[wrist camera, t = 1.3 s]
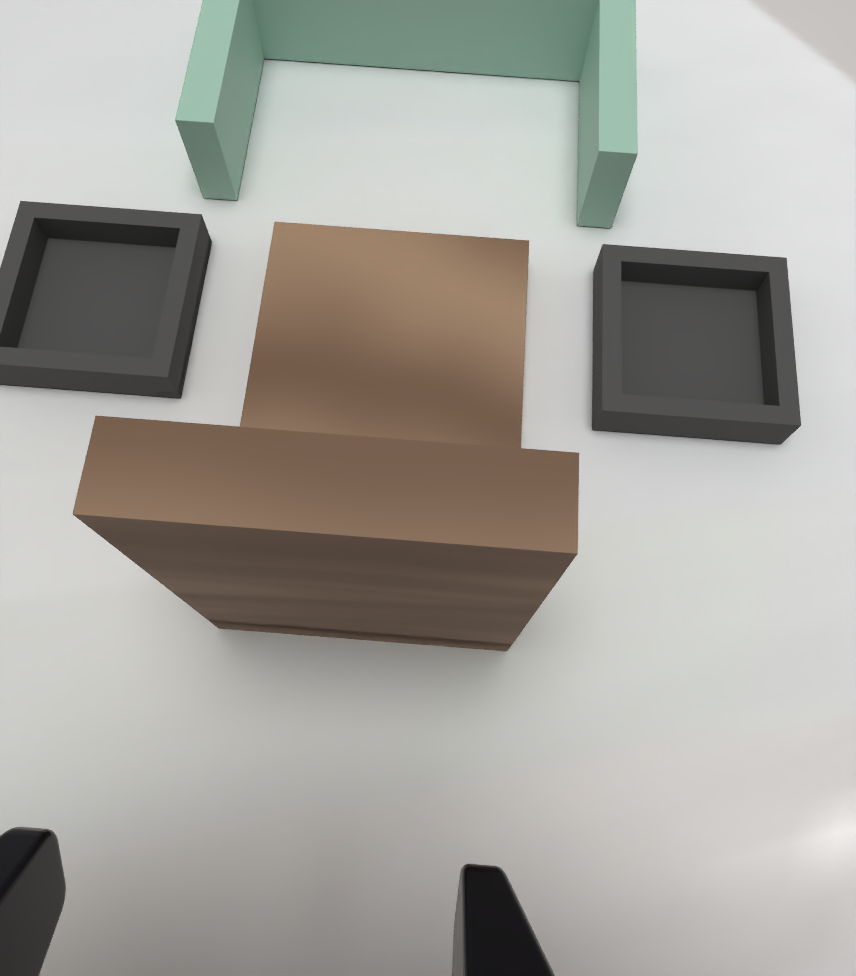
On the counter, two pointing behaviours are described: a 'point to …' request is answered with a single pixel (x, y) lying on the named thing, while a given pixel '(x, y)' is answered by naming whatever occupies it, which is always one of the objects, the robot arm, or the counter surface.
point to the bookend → (357, 455)
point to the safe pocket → (424, 46)
